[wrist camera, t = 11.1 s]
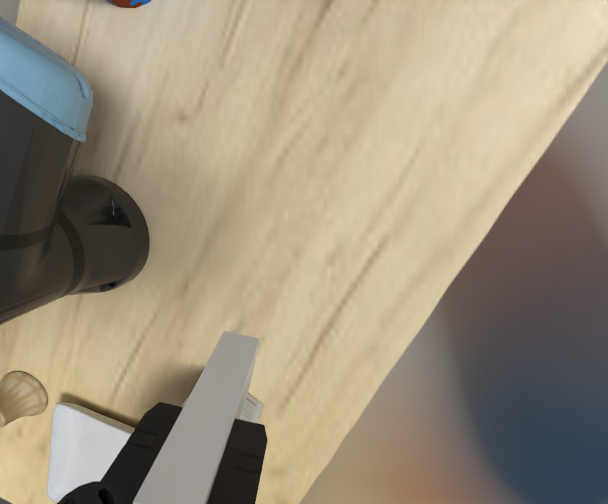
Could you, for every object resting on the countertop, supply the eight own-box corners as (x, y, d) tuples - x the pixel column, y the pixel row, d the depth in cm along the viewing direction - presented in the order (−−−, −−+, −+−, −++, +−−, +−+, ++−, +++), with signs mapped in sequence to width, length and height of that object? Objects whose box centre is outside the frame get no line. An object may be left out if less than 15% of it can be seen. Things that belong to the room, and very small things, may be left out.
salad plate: (61, 482, 56) (43, 501, 53) (70, 388, 50) (51, 403, 47) (170, 525, 55) (159, 547, 52) (193, 433, 49) (182, 452, 46)
